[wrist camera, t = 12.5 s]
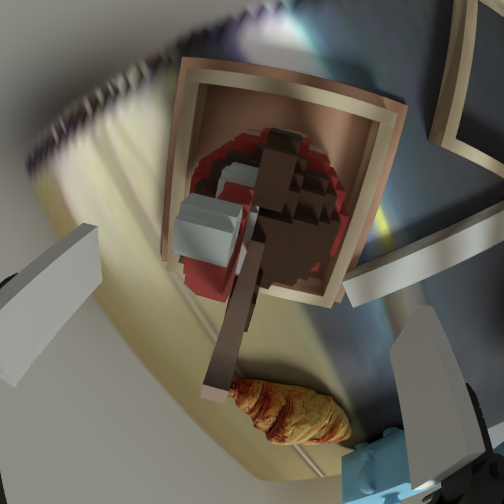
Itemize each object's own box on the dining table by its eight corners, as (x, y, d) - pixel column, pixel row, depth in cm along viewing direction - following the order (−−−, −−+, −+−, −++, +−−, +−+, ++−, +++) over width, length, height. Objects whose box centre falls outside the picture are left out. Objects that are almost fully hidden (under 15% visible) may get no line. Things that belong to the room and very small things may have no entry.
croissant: (361, 398, 40) (386, 427, 32) (322, 445, 40) (340, 477, 32) (243, 342, 36) (253, 373, 28) (202, 400, 36) (203, 438, 28)
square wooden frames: (559, 57, 11) (577, 58, 8) (468, 324, 27) (477, 342, 24) (219, -80, 12) (210, -95, 9) (163, 258, 28) (150, 275, 25)
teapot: (385, 459, 45) (388, 515, 33) (331, 445, 42) (329, 512, 31) (462, 417, 36) (476, 479, 25) (418, 397, 34) (434, 477, 22)
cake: (311, 261, 25) (310, 478, 10) (204, 232, 25) (92, 418, 10) (353, 138, 20) (496, 269, 4) (228, 105, 20) (33, 147, 5)
